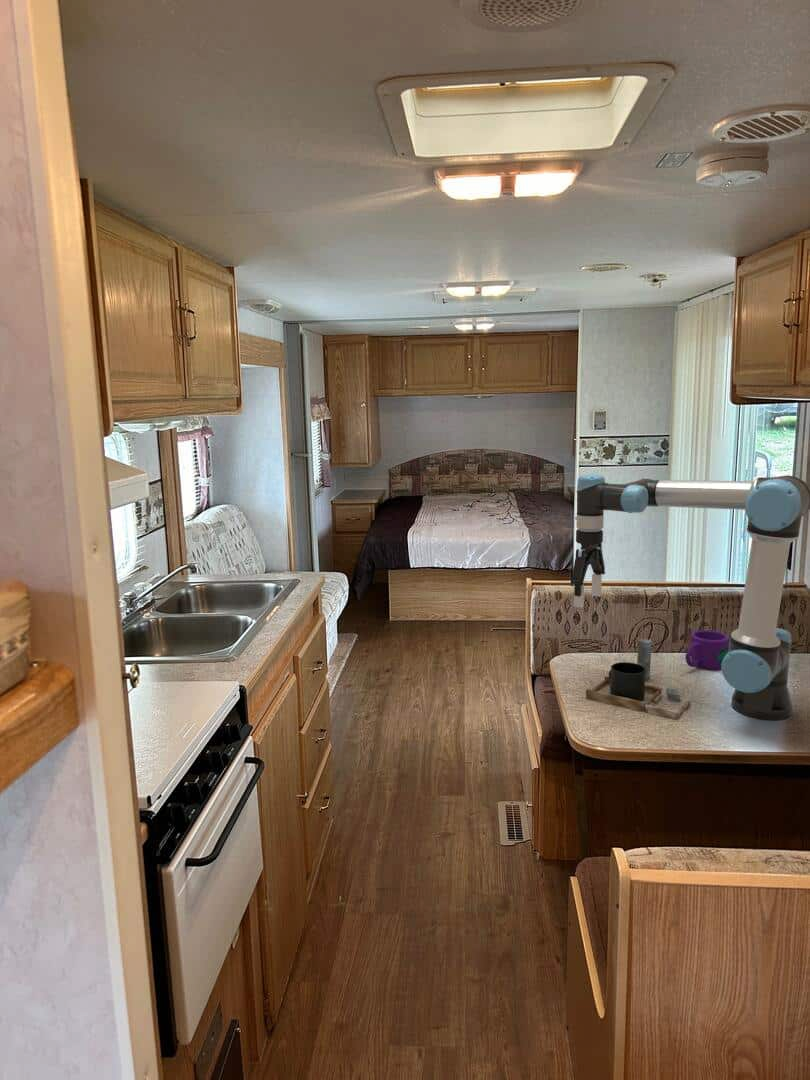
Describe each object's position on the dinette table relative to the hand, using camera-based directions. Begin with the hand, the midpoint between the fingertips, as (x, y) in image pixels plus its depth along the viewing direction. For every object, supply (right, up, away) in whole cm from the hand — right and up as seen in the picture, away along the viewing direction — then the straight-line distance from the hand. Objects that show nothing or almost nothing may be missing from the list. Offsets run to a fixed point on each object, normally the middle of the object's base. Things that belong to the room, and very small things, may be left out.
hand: (587, 601), depth 224 cm
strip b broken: (+20, -28, -11) cm, 36 cm away
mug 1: (+9, -27, -4) cm, 29 cm away
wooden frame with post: (+13, -26, 0) cm, 29 cm away
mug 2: (+40, -22, +18) cm, 50 cm away
